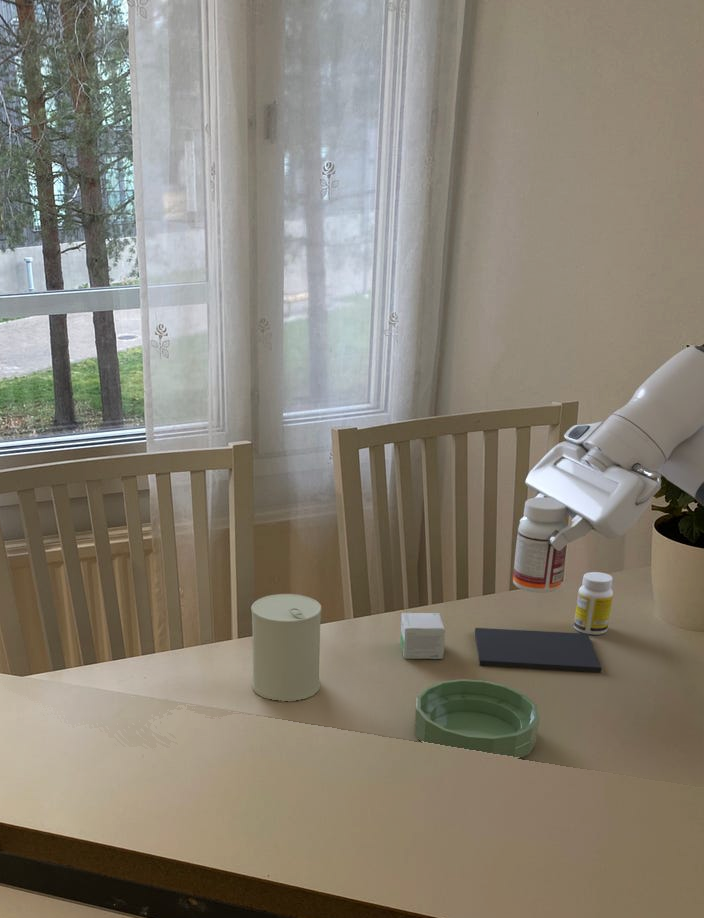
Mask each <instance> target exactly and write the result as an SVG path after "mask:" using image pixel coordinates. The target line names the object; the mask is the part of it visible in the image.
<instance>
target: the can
mask: <svg viewBox="0 0 704 918" xmlns="http://www.w3.org/2000/svg"><path fill="white" fill-rule="evenodd" d="M250 610H251V627H252V628H251V629H252V681H251V688H252V690H253V691H254V692H255V693H256V695H258V696H260V697H262V698H264V699H267V698H268V699H267V700H270V699H272V700H271V701H274V700H279V701H278V702H285V701H288V702H297V701H296V700H298V701H302V700H301V699H303V700H306V699H309V698H311V697H312V696H313V697H314V695H316V694H317V693H318V692H319V690H320V688H321V681H320V651H321V650H320V649H321V648H320V647H321V621H322V610H323V609H322V605H321V603H320V602H319V601H318V600H316V599H314V598H312V597H309V596H306V595H303V594H296V593H278V594H271V595H267V596H263V597H261V598H258V599H257V600H255V601H253V603H252V605H251V608H250ZM315 693H316V694H315ZM280 700H281V701H280Z"/></svg>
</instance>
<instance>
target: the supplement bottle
mask: <svg viewBox="0 0 704 918" xmlns="http://www.w3.org/2000/svg"><path fill="white" fill-rule="evenodd" d="M581 584H582V585H581V586H580V587H579V588H578V592H577V599H576V605H575V606H576V607H575V612H574V613H575V615H574V622H573V627H574V629H575V631H577V632H578V633H584V634H588V635H594V636H597V635H598V636H599V635H603V634H605V633H606V632H607V631H608V629H609V623H610V616H611V610H612V604H613V598H614V591H613V589H612V587H613V576H612V575H610V574H609V573H605V572H599V571H591V572H586V573H585V574H583V578H582V583H581Z"/></svg>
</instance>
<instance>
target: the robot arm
mask: <svg viewBox="0 0 704 918" xmlns="http://www.w3.org/2000/svg"><path fill="white" fill-rule="evenodd" d="M563 437H564V438H565V440H566V441H565V440H564V441H562V442H559V443H558V444H556V445H555V446H553V447H552V448H551V449H550V450H549V451H548V452H547V453H546V454H545V455H544V456H543V457H542V458H541V459H540V460H539V461H538V462H537V463H536V464H535V465H534V466H533V467H532V468H531V470H530V471H529V472H528V474H527V475H526V479H525V485H526V487H527V488H528V489H529V490H530V491H531V492H532V493H533V494H534V495H535V496H534V498H539V497H547V498H553V499H555V500H556V501H558V502H559V503H561V504H563V505H565V506H566V508H567V513H566V516H569V517H571V518H572V519H571V520H570V524H569V525H567V527H565V528H564V529H562V530H560V531H557V530H555V531H554V532H553V533H552V535H551V536H549V537H548V538H547V542H548V543H549V544H550V545H551V546H552V547H553V548H555V549H556V550H558V551H560V550H562V549H563V548H564V547H565V546H566V545H567V546H568V544H569V543H571V542H574V541H577V540H578V539H580V538H583V537H585V536H586V535H588V533H590V532H591V530H593V531H594V532H596V533H598V534H600V535H601V536H603V537H605V538H607V540H611V541H613V540H615V539H617V538H621V537H622V536H623V535H624V534H625V533H626V532H628V530H630V528H631V527H632V526H633V525H634V524H635V523H636V522H637V521H638V519H639V518H640V517H641V516H642V514H643V513H644V512H645V511H646V510H647V509H648V508H649V506H650V505H651V503H652V501H653V498H654V496H656V494H657V493H658V492H659V491H660V490H661V487H662V486H661V485H662V477H664V478H665V479H666V480H667V481H668V482H670V483H671V484H673V485H674V486H676V487H678V488H679V489H680V490H682V491H684V492H685V493H687V494H688V495H690V496H691V497H693V498H694V499H695V501H696V502H698V503H699V504H700V505H701V506H702V507H704V346H702V345H690V346H688V347H685V348H684V349H682V350H680V351H679V352H677V353H676V354H674V355H673V356H672V357H670V358H669V359H668V360H667V361H666V362H664V364H662V365H661V366H660V367H659V368H658V369H657V370H656V371H654V373H652V374H651V375H650V376H649V377H648V378H647V379H646V380H644V382H643V383H642V384H641V385H640V386H639V387H638V388H637V389H636V390H635V392H634V394H633V396H632V397H631V398H630V400H629V401H628V402H627V403H626V404H625V405H623V407H621V408H619V409H617V410H616V411H614V412H613V413H612V414H611V415H609V416H608V418H607V419H606V420H604V421H597V422H594V423H586V424H575V425H573V426H571V427H570V428H569V429H568V430H567V431H566V432H565V433H564V434H563ZM524 519H526V517H525V516H524V515H523V517H521V518H520V520H519V524H520V523H521V522H522V521H523V520H524Z"/></svg>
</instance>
